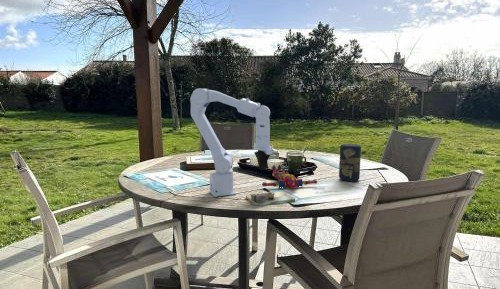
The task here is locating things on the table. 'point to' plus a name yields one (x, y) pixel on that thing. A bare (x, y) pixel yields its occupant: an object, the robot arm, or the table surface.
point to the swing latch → (268, 195)
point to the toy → (286, 179)
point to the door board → (278, 198)
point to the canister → (349, 162)
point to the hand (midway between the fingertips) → (262, 169)
